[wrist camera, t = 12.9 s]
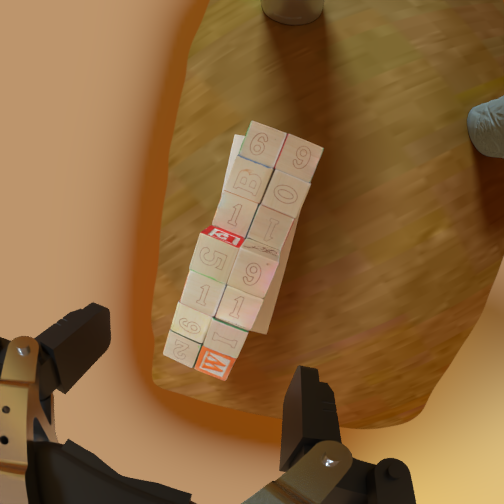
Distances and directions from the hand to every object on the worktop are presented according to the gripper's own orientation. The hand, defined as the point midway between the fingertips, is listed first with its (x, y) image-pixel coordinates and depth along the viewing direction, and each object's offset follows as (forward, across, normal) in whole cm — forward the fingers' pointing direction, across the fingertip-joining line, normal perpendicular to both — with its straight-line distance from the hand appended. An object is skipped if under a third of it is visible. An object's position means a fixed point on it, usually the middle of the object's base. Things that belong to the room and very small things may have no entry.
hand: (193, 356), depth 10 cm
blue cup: (+29, -32, -26) cm, 50 cm away
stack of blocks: (+22, 0, 0) cm, 23 cm away
